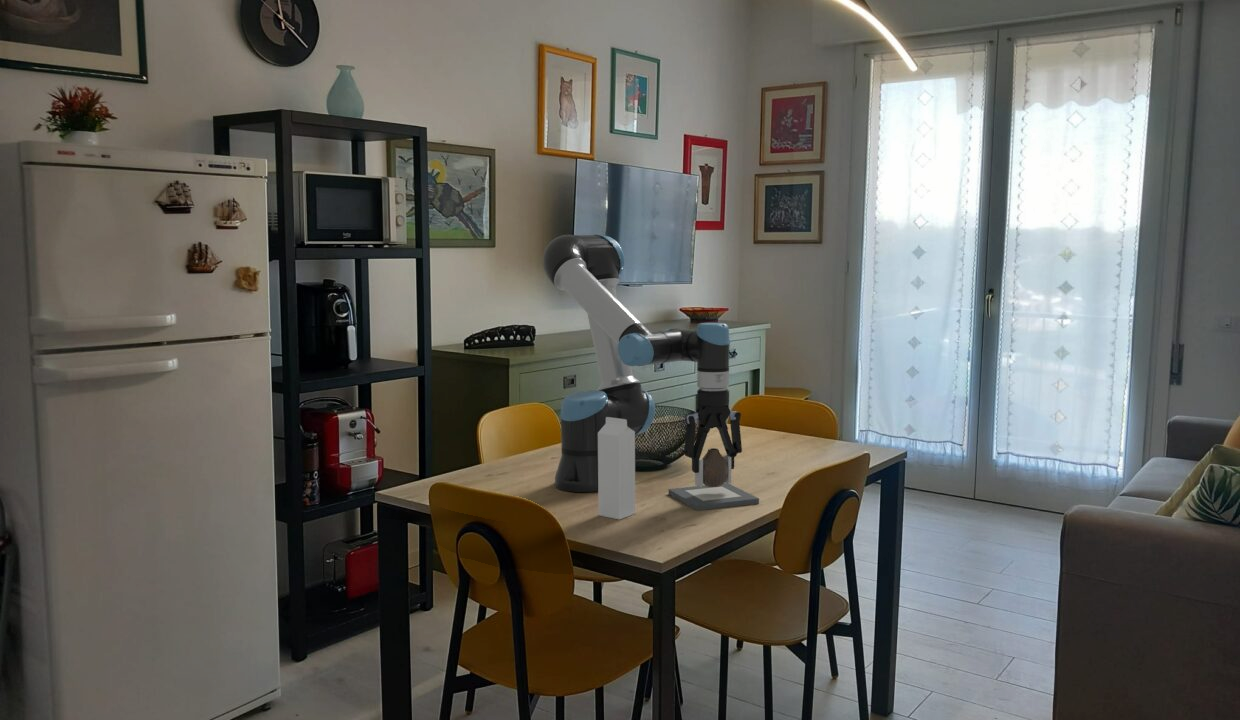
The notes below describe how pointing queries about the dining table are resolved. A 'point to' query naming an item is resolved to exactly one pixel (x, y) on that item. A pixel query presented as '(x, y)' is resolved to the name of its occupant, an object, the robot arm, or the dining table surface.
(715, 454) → the vase
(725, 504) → the rest mat
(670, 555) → the dining table surface
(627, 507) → the milk
